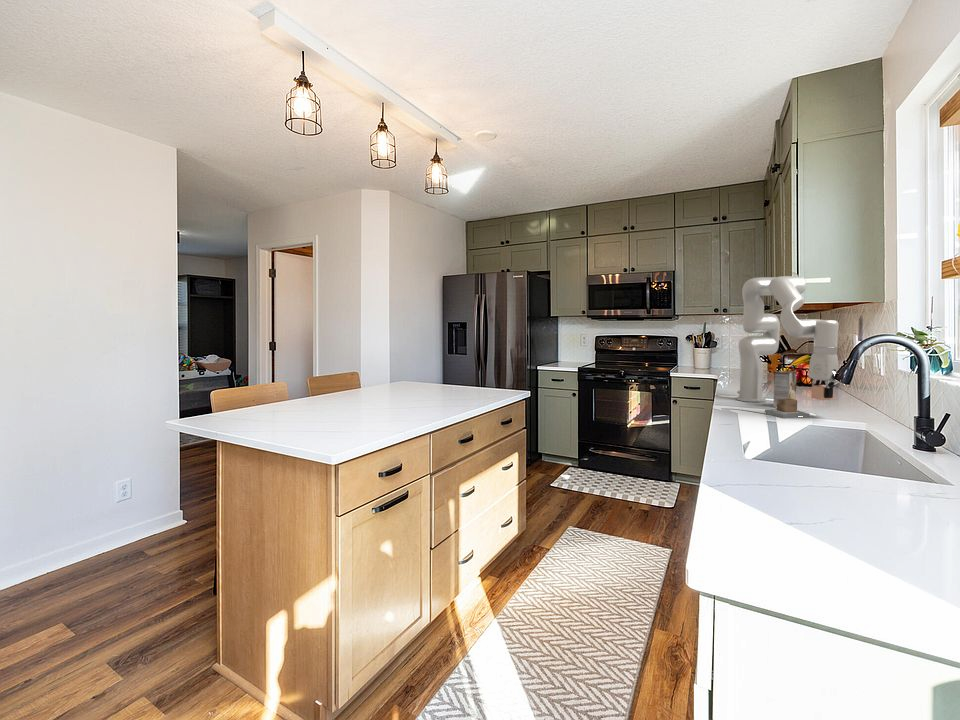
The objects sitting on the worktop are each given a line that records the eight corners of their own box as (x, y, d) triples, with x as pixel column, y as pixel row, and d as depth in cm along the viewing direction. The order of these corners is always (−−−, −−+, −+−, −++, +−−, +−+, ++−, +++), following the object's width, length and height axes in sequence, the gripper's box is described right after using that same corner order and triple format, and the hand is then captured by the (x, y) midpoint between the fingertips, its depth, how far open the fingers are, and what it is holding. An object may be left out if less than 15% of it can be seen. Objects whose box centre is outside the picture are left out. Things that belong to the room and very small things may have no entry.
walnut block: (776, 410, 193) (776, 398, 192) (788, 409, 193) (788, 398, 192) (785, 412, 188) (785, 400, 187) (796, 412, 188) (797, 400, 187)
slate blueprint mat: (764, 413, 195) (764, 409, 195) (789, 412, 196) (789, 408, 196) (783, 418, 184) (783, 414, 184) (809, 417, 185) (809, 413, 185)
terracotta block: (811, 397, 186) (812, 385, 186) (823, 397, 187) (823, 385, 186) (821, 400, 181) (822, 387, 181) (833, 399, 182) (834, 387, 181)
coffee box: (780, 404, 213) (781, 370, 212) (796, 406, 208) (797, 371, 207) (772, 407, 208) (773, 372, 206) (789, 409, 203) (790, 373, 201)
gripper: (799, 349, 190) (797, 393, 192) (833, 353, 173) (831, 400, 175) (817, 349, 191) (814, 392, 193) (852, 352, 174) (849, 400, 176)
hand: (822, 396), depth 184 cm, fingers closed on terracotta block, 5 cm apart
